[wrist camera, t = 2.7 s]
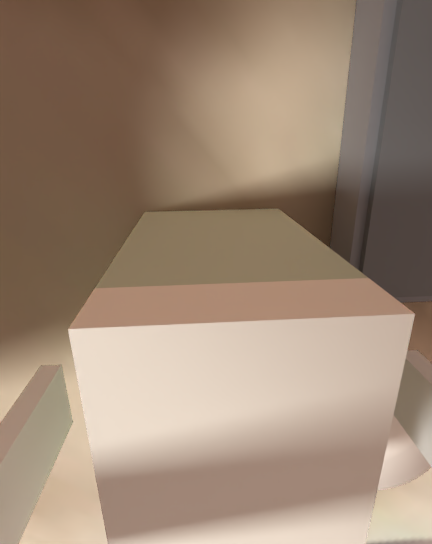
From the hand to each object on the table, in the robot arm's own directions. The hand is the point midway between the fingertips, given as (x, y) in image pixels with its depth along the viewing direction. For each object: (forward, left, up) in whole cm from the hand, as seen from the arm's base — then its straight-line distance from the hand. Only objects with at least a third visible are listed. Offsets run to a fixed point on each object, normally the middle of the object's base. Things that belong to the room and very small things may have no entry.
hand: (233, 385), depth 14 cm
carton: (0, 0, -7) cm, 7 cm away
